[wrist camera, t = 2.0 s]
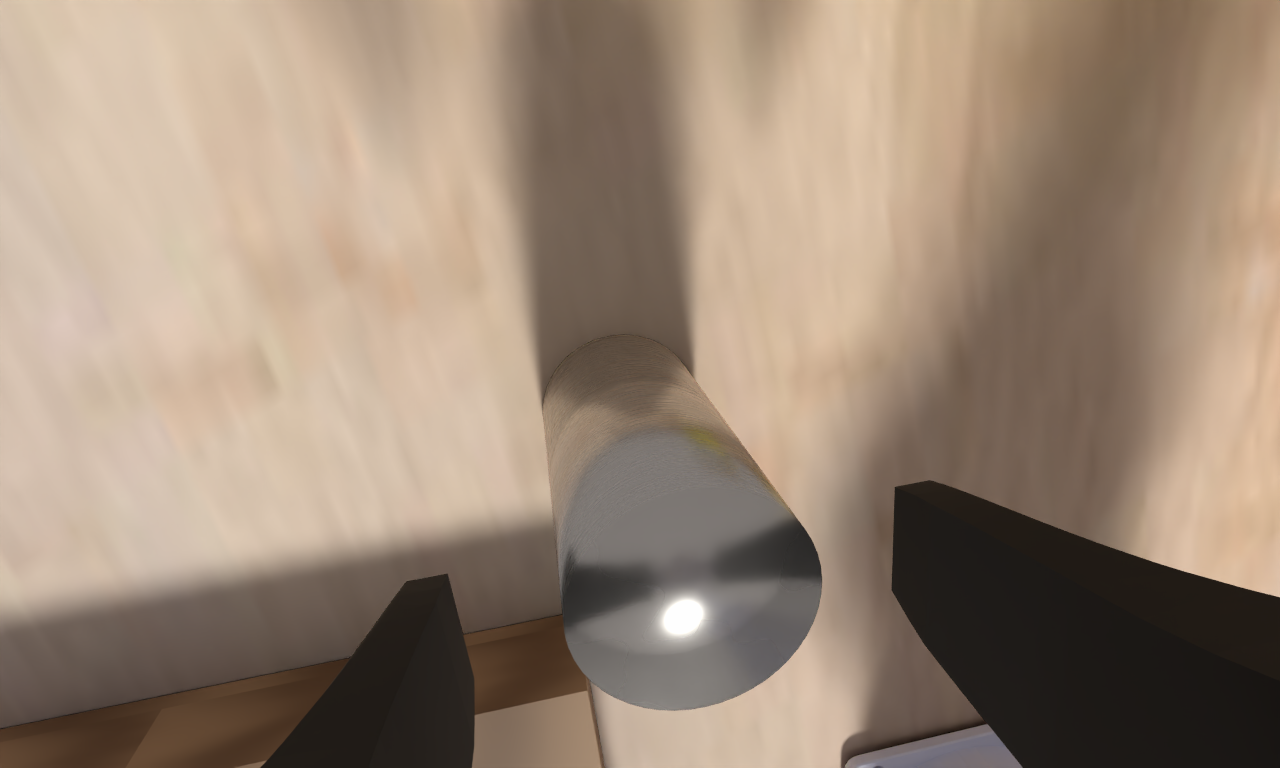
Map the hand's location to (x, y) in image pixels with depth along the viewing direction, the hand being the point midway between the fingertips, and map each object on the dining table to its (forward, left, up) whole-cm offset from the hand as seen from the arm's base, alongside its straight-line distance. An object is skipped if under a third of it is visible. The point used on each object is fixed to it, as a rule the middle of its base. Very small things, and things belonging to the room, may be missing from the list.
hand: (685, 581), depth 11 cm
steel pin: (0, 0, -7) cm, 7 cm away
